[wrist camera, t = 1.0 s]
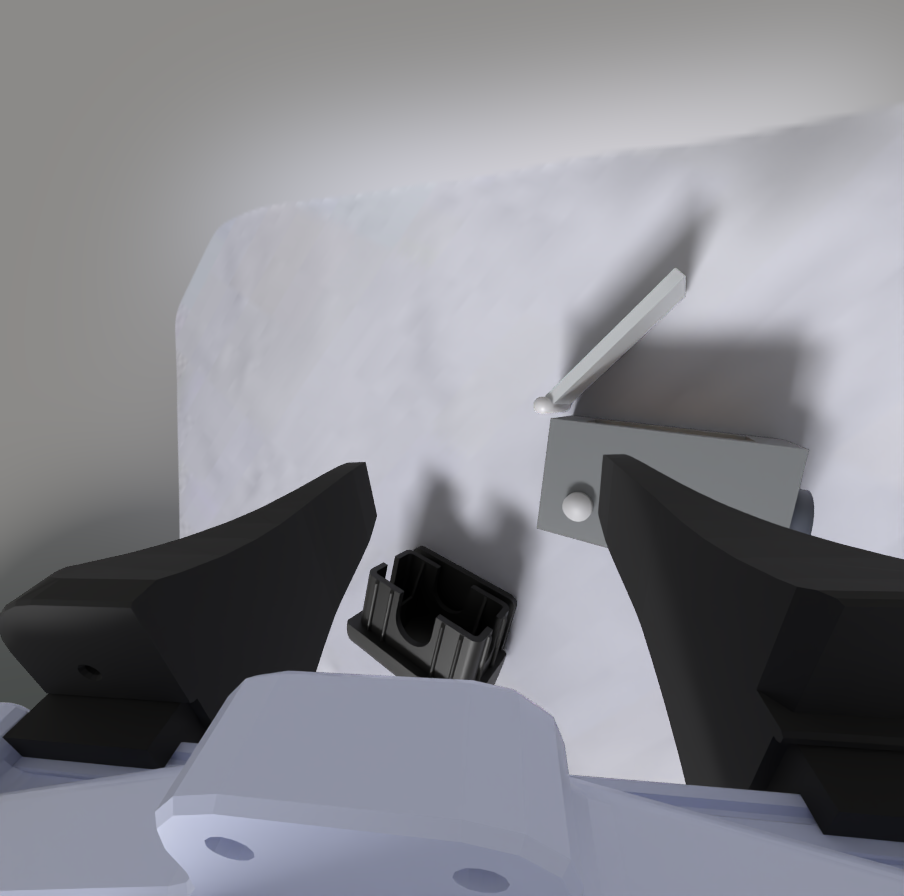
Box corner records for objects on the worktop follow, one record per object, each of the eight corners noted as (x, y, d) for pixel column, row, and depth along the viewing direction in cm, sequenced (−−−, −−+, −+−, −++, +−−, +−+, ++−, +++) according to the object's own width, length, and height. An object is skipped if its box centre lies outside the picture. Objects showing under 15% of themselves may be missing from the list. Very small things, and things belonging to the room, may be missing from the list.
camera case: (804, 441, 18) (842, 454, 13) (775, 560, 19) (801, 607, 14) (572, 415, 23) (547, 418, 19) (560, 508, 24) (533, 531, 20)
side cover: (674, 288, 19) (672, 263, 16) (687, 299, 19) (688, 276, 16) (553, 404, 23) (530, 405, 20) (563, 415, 23) (541, 417, 20)
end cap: (399, 612, 33) (339, 656, 27) (414, 540, 31) (354, 572, 25) (500, 681, 28) (453, 753, 22) (525, 601, 26) (481, 657, 20)
